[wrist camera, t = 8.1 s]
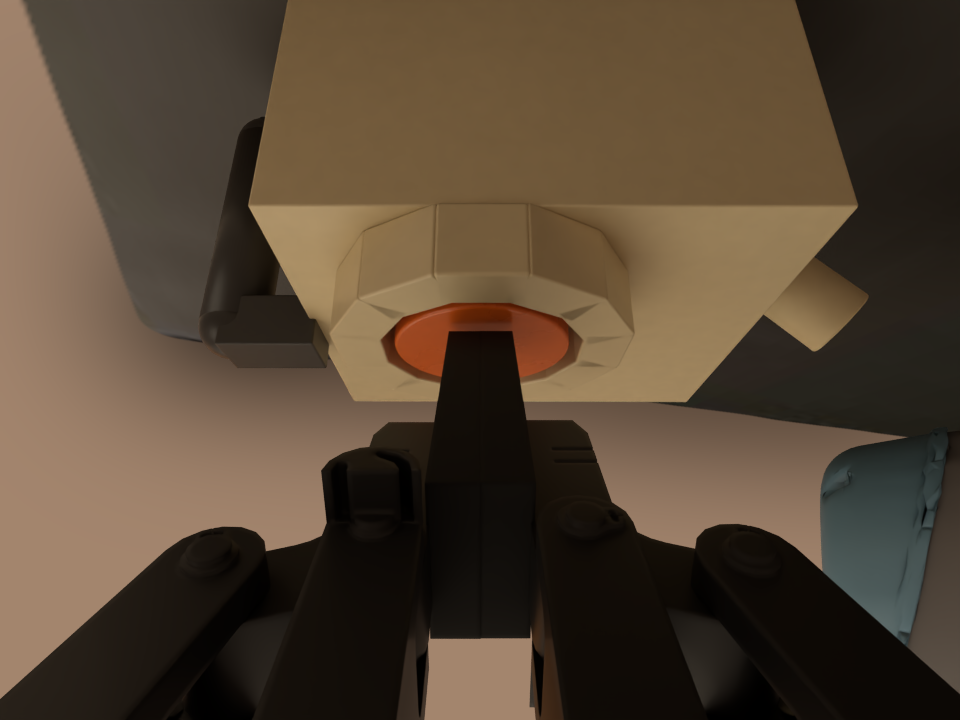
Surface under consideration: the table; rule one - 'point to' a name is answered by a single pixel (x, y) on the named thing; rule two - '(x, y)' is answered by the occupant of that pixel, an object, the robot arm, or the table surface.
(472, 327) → the button
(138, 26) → the table surface
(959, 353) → the table surface
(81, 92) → the table surface
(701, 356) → the kettle
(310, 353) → the kettle handle and spout
